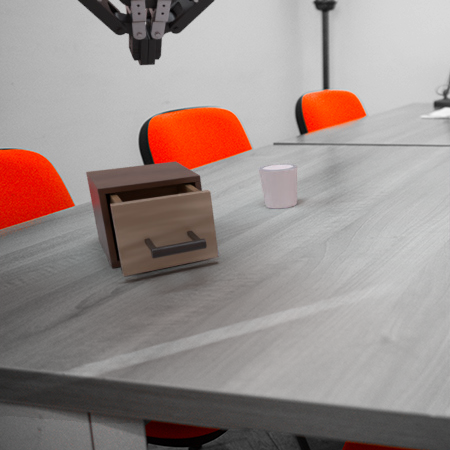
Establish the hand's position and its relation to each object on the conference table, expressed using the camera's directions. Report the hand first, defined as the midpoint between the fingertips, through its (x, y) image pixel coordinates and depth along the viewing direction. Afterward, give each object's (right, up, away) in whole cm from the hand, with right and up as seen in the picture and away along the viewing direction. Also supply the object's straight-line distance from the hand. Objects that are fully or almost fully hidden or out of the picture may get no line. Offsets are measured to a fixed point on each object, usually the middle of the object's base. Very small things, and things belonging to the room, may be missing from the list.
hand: (144, 59), depth 61 cm
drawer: (-3, -22, +14) cm, 26 cm away
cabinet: (-9, -20, +23) cm, 32 cm away
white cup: (+5, -14, +44) cm, 46 cm away
